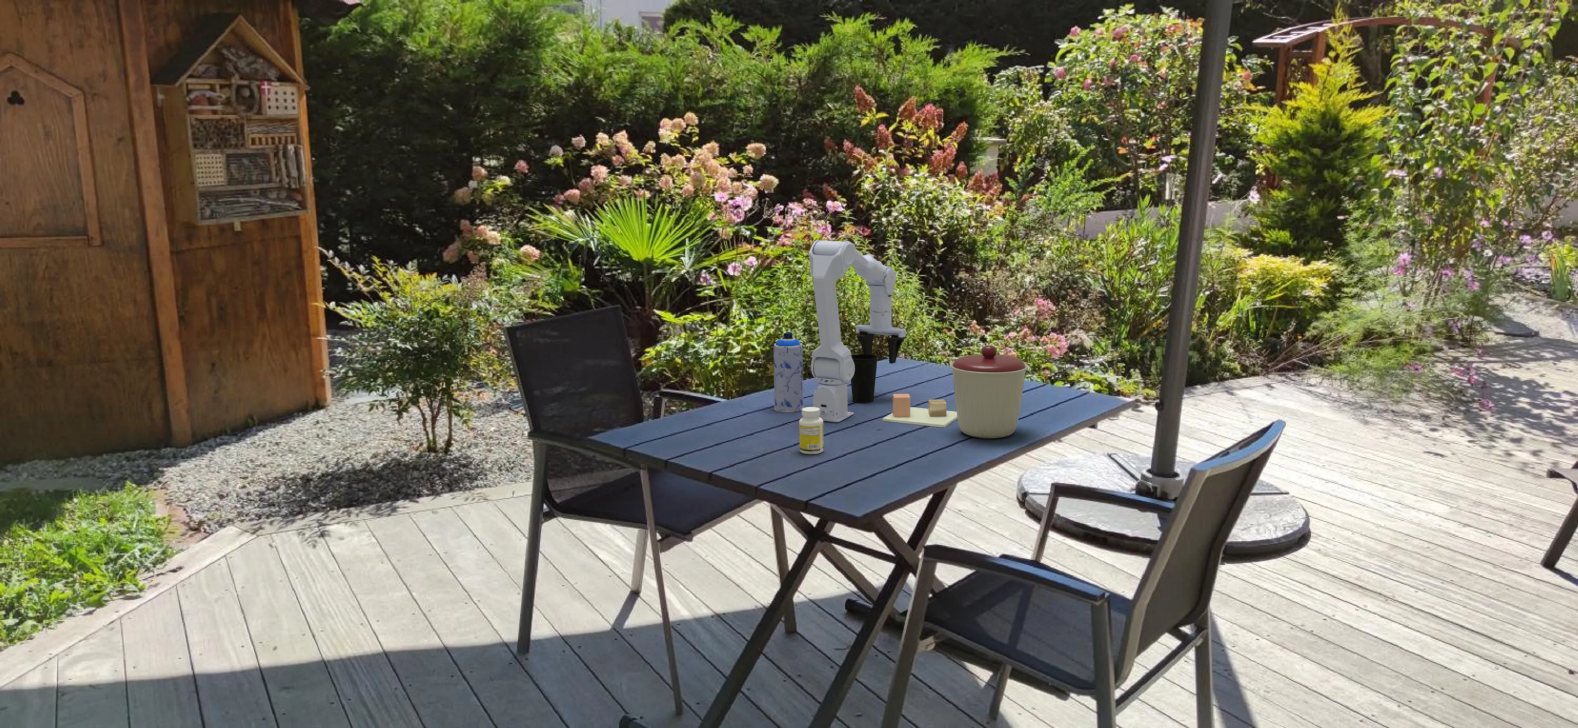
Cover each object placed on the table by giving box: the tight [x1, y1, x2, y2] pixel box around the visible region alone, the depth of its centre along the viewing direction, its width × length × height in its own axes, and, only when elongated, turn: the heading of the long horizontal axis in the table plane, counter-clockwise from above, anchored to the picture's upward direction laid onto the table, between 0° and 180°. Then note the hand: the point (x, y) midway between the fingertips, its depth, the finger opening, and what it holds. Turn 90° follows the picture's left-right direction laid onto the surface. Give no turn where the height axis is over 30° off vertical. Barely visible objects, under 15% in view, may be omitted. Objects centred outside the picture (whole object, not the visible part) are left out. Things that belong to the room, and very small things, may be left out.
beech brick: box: [927, 399, 948, 417], centre depth 283 cm, size 4×4×3 cm
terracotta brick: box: [892, 393, 911, 417], centre depth 283 cm, size 4×4×5 cm
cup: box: [850, 353, 878, 404], centre depth 300 cm, size 8×8×12 cm
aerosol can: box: [773, 331, 805, 413], centre depth 292 cm, size 8×8×20 cm
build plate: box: [882, 406, 958, 428], centre depth 283 cm, size 14×16×1 cm
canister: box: [949, 344, 1029, 439], centre depth 265 cm, size 18×18×21 cm
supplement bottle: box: [798, 406, 825, 455], centre depth 253 cm, size 5×5×10 cm
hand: (880, 361), depth 302 cm, fingers open, 7 cm apart
